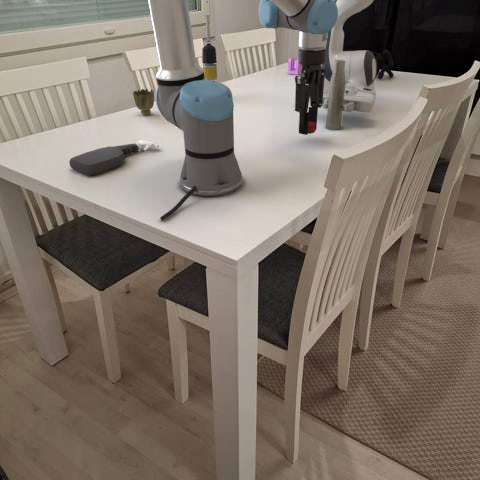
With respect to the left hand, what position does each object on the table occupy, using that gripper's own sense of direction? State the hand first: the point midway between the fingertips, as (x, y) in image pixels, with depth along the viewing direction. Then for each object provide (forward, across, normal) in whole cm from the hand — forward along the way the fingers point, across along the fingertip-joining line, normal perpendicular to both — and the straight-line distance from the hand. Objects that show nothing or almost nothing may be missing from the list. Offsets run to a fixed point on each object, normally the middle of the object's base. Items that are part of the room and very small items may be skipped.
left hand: (307, 131), depth 134 cm
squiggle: (+3, +93, +16) cm, 95 cm away
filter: (+3, +20, +56) cm, 60 cm away
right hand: (-4, +15, -1) cm, 16 cm away
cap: (-2, 0, 0) cm, 2 cm away
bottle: (+3, +16, 0) cm, 16 cm away
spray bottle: (+3, -44, +35) cm, 56 cm away
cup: (+3, -9, +62) cm, 63 cm away
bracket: (+3, +83, +54) cm, 99 cm away
